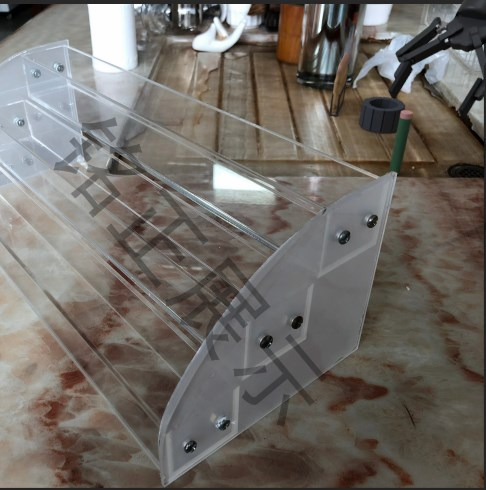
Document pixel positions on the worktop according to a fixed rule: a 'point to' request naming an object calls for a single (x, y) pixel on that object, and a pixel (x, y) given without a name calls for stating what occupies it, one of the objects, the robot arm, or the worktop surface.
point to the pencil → (401, 140)
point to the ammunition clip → (339, 87)
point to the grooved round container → (380, 114)
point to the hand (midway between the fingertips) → (425, 104)
